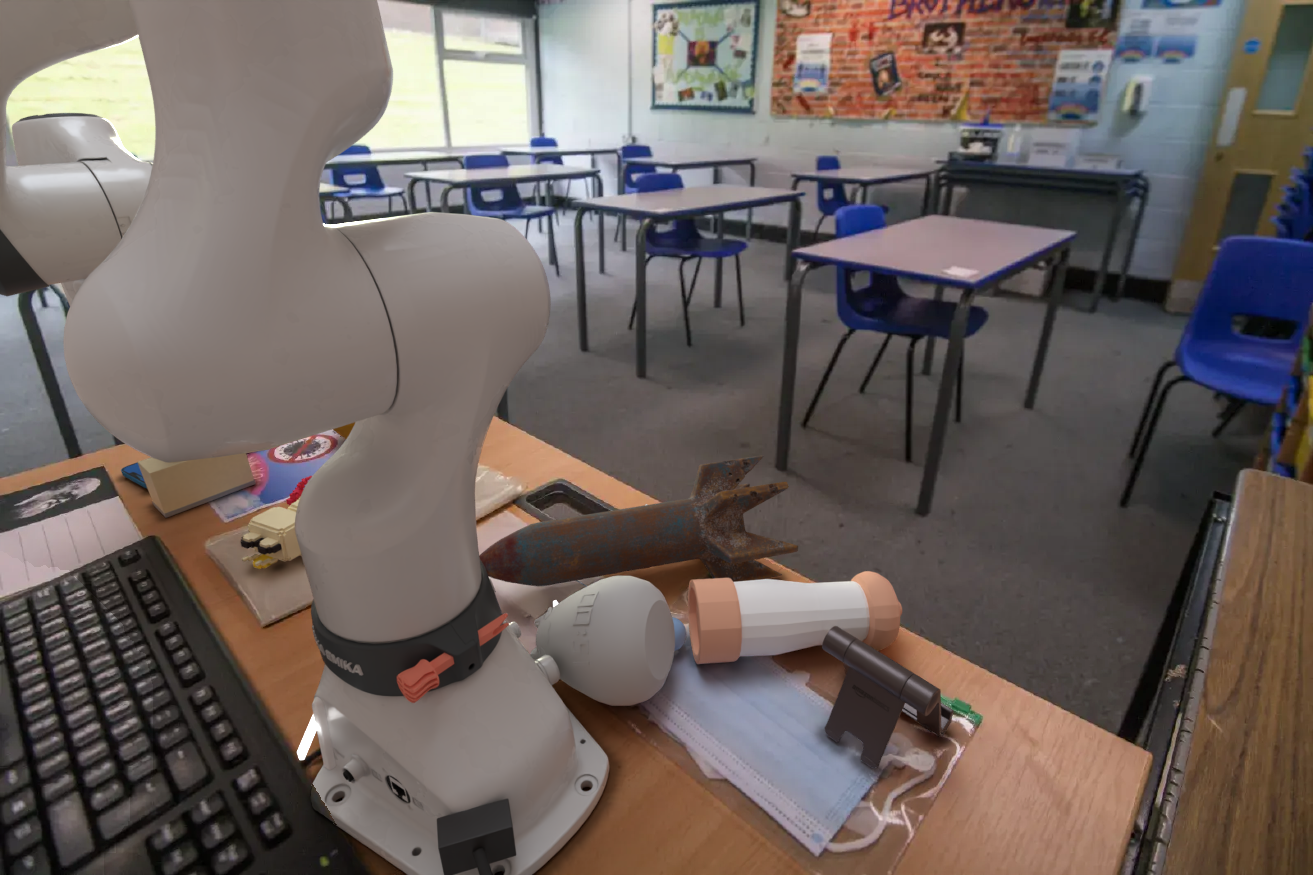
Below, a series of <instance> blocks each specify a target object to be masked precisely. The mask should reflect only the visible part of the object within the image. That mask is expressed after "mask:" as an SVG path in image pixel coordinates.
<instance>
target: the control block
mask: <svg viewBox="0 0 1313 875" xmlns="http://www.w3.org/2000/svg"><path fill="white" fill-rule="evenodd" d="M247 454H248V453H243V454H236V455H230V456H223V457H215V458H206V459H197V460H189V461H180V462H171V463H168V462H164V461H161V460H158V459H155V458H152V457H151V458H150V457H148V458H145V459H142V460H139V461H137V462H138V465H139V467H140V470H141V473H142V475H143V478H144V480H145V483H146V486H147V488H146V489H147V491H148V493H149V496H150V500H151V503H152V506H153V507H155V509H156V510H158V512H159V513H160V514H161V515H163V517H164V518H170V517H172V516H175V515H177V514H180V513H183V512H186V511H188V510H191V509H193V508H196V507H199V506H202V505H203V504H206V503H209V502H211V501H215V500H217V499H220V498H222V497H225V496H227V495H230V494H232V493H233V494H234V493H236V492H238V491H240V490H243V489H244V490H245V489H246V488H248V487H251V486H255V485H256V480H255V478H254V475H253V472H252V469H251V468H252V467H251V465H250V461H249V458H248V455H247Z"/></svg>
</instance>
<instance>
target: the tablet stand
mask: <svg viewBox="0 0 1313 875" xmlns="http://www.w3.org/2000/svg"><path fill="white" fill-rule="evenodd" d="M821 648H822V650H823V651H824V652H826V653H827V654H829V655H830V656H832V657H833V658H835V659H837V660H838V661H840V662H841V663H843V669H844V673H845V677H844V679H843V681H842V684H841V686H840V689H839V692H838V695H837V697H836V699H835V702H834V704H833V707H832V709H831V712H830V714H829V717H828V719H827V722H826V724H825V726H824V733H825V734H826V736H828V738H830V739H832V740H833V741H835V742H836V743H839V742H840V741H841V739H842V737H843V736H844V735H845V733H846V732H847V733H849V734H850V735H852V736H853V737H854V738H856V739H857V740H858V741H860V742H861V743H862V750H861V754H860V759H859V760H860V761H862V762H863V763H865V765H867V766H869V767H870V768H871V769H877V768H878V767H879V766H880V764H881V761H882V759H883V757H884V754H885V751H886V750H887V747H888V745H889V742H890V740H891V737H892V735H893V733H894V731H895V729H896V726H897V724H898V721H899V719H900V716H901V714H904V715H905V716H907V717H909V718H910V719H911V720H913V721H915V722H916V723H917V724H919V725H921V726H922V728H923V729H925V730H927V731H928V732H929V733H933V734H934V735H936V736H937V737H939V738H941V737H943V736H944V735H945V734H946V732H947V731H948V729H949V727H950V725H951V723H952V720H953V717H954V716H953V715H954V712H955V710H954V709H953V708H951V707H949V706H947V704H944V703H943V702H942V697H941V696H942V690H941V688H939V687H937V686H936V685H934V684H932V683H931V682H929V681H928V680H926V679H924V678H922V677H921V676H919V675H918V674H916V673H914V672H913V671H911V670H909V669H908V668H906V667H904V666H903V665H901V664H899V663H898V662H896V661H895V660H893V659H891V658H890V657H888V656H887V655H885V654H884V653H881V652H880V650H879V651H877V650H875V649H874V648H872V647H870V646H869V645H867V644H865V643H864V642H862V641H861V640H859V639H857V638H856V637H854V636H852V635H851V634H849V633H847V632H846V631H844V630H843V629H841V628H839V627H838V626H834V627H832V628H831V629H830V630H829V631H828V633H827V634H826V636H825V638H824V640H823V644H822V645H821Z"/></svg>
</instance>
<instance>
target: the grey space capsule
mask: <svg viewBox="0 0 1313 875" xmlns="http://www.w3.org/2000/svg"><path fill="white" fill-rule="evenodd" d="M586 586H587V587H586ZM586 586H584V587H583V588H581V589H578V590H577V591H575V592H573V593H572V594H570V595H569V596H567V597H565V598H564V599H563V600H560V602H558V604H557V605H556V606H554V607H553V606H552V607H551V606H549V607H548V608H547V611H546V612H544V614H543V615H541V616H539V617H537V618H536V619H534V626H535V627H536V629H537V630H536V634H535V647H534V648H533V649H532V650H531V652H530V653H529V654H530V656H531V657H532V658H533V660H534V661H535V660H536V659H538V658H540V657H542V656H544V655H549V656H551V657H552V658H553V660H554V661H555V662H556V664H557V666H558V669H559V672H560V679H559V680H560V681H561V682H564V683H565V684H566V685H568V686H569V687H571V688H572V689H574V690H576V691H577V692H580V693H581V694H583V695H585V696H587V697H588V698H591V699H592V700H594V701H597V702H599V703H602V704H605V705H609V706H612V707H627V706H629V707H630V706H634V705H637V704H640V703H643V702H646V701H648V700H650V699H651V698H652V697H654V696H655V695H656V694H657V693H658V692H659V691H660V690H661V689H662V688H663V687H664V684H665V683H666V680H667V678H668V676H669V673H670V670H671V668H672V665H673V661H674V656H675V651H674V649H675V630H674V623H673V618H672V617H673V614H672V612H671V608H670V607H669V603H668V602H667V600H666V597H665V595H664V594H663V593H662V591H661V590H660V589H659V588H658V587H656V586H655V585H654V584H653V583H652V582H650V581H649V580H645V579H643V578H640V577H636V576H633V575H613V576H609V577H605V578H601V579H599V580H597V581H595V582H592V583H591V584H588V585H586Z"/></svg>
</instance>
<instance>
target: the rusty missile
mask: <svg viewBox="0 0 1313 875" xmlns="http://www.w3.org/2000/svg"><path fill="white" fill-rule="evenodd" d="M763 458H764V455H756V456H750V457H749V456H748V457H743V458H737V459H729V460H723V461H716V462H709V463H704V464H700V465H698V469H697V473H696V477H695V480H694V484H693V487H692V491H691V493H690V496H689V497H688V498H682V499H676V500H670V501H664V502H657V503H651V504H648V505H645V504H644V505H638V506H632V507H625V508H620V509H614V510H613V509H612V510H606V511H600V512H593V513H589V514H582V515H575V516H569V517H563V518H562V517H561V518H558V519H557V518H556V519H550V520H545V521H539V522H535V523H534V522H533V523H530V524H528V525H526V526H524V527H522V528H520V529H518V530H516V531H514V532H512V533H510V534H508V535H506V536H504V537H502V538H500V539H499V540H497V541H496V542H495V543H493V544H491V545H490V546H489V547H487V548H486V549H485V550H484V551H483V552H481V553H479V559H480V560H481V561H482V563H483V565H484V566H485V569H486V571H487V574H488V576H489V578H490V579H494V580H497V581H501V582H505V583H512V584H518V585H522V586H523V585H524V586H530V587H531V586H533V587H547V586H553V585H559V584H565V583H570V582H574V581H575V582H577V581H581V580H586V579H592V578H598V577H604V576H609V575H614V574H620V573H625V572H632V571H636V570H637V571H638V570H644V569H649V568H654V567H660V566H666V565H672V564H677V563H682V562H688V561H694V560H700V561H701V562H702V564H703V565H704V567H705V568H706V570H707V572H708V573H709V575H710V576H711V579H714V578H730V579H732V581H733V582H738V581H750V580H761V579H772V578H775V577H781V576H782V575H783V573H780V572H779V571H777V570H775V569H773V568H771V567H770V566H768V565H766V564H763V563H762V562H760V561H758V560H761V559H766V558H771V557H776V556H782V555H788V554H794V553H797V552H798V551H799V545H797V544H794V543H791V542H786V541H784V540H778V539H776V538H775V539H774V538H771V537H768V536H765V535H760V534H756V533H752V532H748V531H747V530H746V525H745V519H744V514H745V513H747V512H748V511H750V510H752V509H754V508H756V507H757V506H759V505H761V504H763V503H765V502H766V501H768V500H770V499H772V498H774V497H775V496H777V495H780V494H781V493H782V492H784V491H786V490H788V489H789V487H790V486H789V484H788V481H779V482H773V483H765V484H760V485H754V486H751V484H750V483H743V484H742V483H741V482H742V481H743V480H744V479H745V477H746V475H747V474H748V473H750V472H751V471H752V470H753V469H754V467H756V465H758V463H759V462H761V460H762V459H763ZM740 483H741V484H740ZM576 580H577V581H576Z"/></svg>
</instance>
